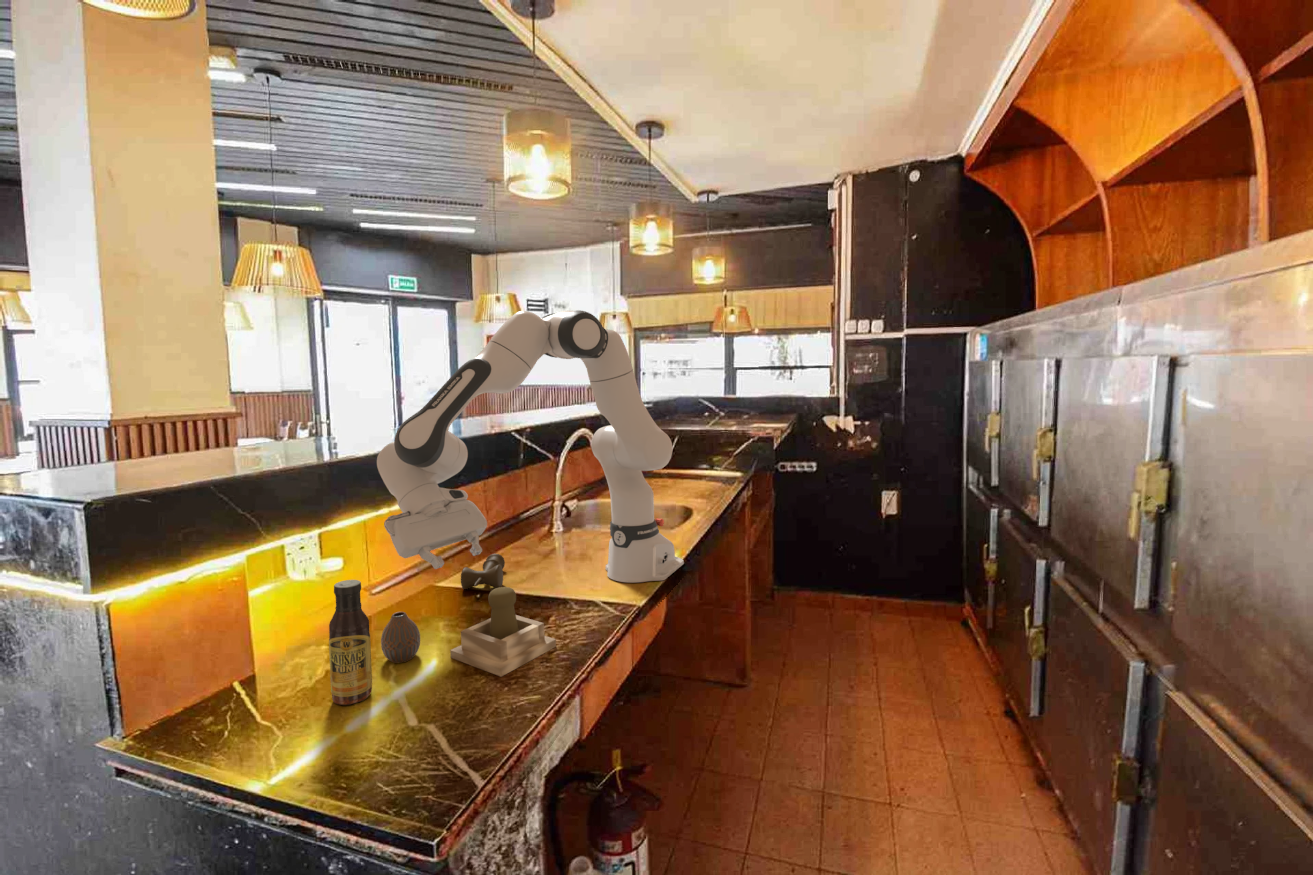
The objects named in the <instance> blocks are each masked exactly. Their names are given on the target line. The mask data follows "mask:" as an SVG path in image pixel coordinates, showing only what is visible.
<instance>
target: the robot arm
mask: <svg viewBox="0 0 1313 875" xmlns="http://www.w3.org/2000/svg"><path fill="white" fill-rule="evenodd" d="M627 350H628V349H627V348H626V346H625V343H624V341H623V339H622V337H621V335H620V333H618V332H617V331H615V330H613V329H606V328H605V327H604V326H603V325H602V323H601V321H600V320H599V319H598V318H597V317H596V316H595V315H594V314H592V313H590V312H589V311H588V312H587V311H585V310H579V309H578V310H561V311H558V312H556V313H550V314H547V315H544V316H542V317H540V316H539V315H537V314H536V313H533V312H531V311H527V310H521V311H520V310H519V311H517V312H515V313H513V315H512V316H510V318H508V319H507V320H506V321H505V322H504V323H503V324H502V325H501V327H499V329H498V330H496V332H495V333H494V334H493V336H492V337H491V338H490V340H489V341H488V342H487V343H486V345H485V347H483V348H482V350H481V351H480V352H479V353H478V354H477V355H476V356H474V358H472V359H470V360H468V361H466V362H465V363H464V364H463V365H461V366H460V367H459V368H458V369H457V370H456V371H455V372H454V373H453V374H452V375H451V376H450V377H449V379H448V380H447V381H446V382H444V384H443V385H442V386H441V388H440V389H439V390H438V391H437V392H436V393H435V394H434V395H433V396H432V397H431V398H430V400H429V401H428V402H427V403H425V405H424V406H423V407H422V408H421V409H420V410H418V411H417V412H416V413H414V414H413V415H411V416H409V417H408V418H407V419H405V421H403V422H402V423H401V424H400V425H399V427H398V428H397V431H396V433H395V436H394V441H392V442H389V443H388V444H387V445H385V446H384V447H382V448H381V450H380V452H379V453H378V455H377V458H376V467H377V470H378V474H379V475H380V477H381V479H382V481H383V484H384V485H385V487H386V489H387V490H388V491H389V493H390V495H392V496H394V498H395V499H396V502H397V505H398V508H399V509H400V511H401V513H399V514H392V515H389V516H388V517H387V519H385V521H384V525H383V527H384V529H385V530H386V533H388V534H389V535H390V539H391V542H392V544H393V547H394V548H395V550H396V552H397V554H398V556H400V557H401V558H404V559H408V558H411V557H415V556H417V555H418V556H420V558H421V559H422V560H424V561H426V562H428V563H429V564H431V566H432V568H433V569H434V570H437V569H440V568H443V566H444V564H445V560H444V559H443V558H442V556H441V555H439V556H437V555H435V554H434V553H433V552H431V551H434V550H436V549H441V548H443V547H447V546H450V545H453V544H457V543H459V542H463V541H465V540H467V541H468V543H471V548H469V552H470V553H471V555H472V556H473V557H475V556H479V555H481V553H483V548H482V547H481V545H480V537H479V536H481V535H482V534H483V533H484V532H485V530H486V529H487V527H488V520H487V518H486V517H485V516H484V514H483V513H482V512H481V510H480V509H479V507H478V506H477V505H476V504H475V503H474V502H473V501H471V500H468V498H469V495H468V493H467V492H466V491H465V490H464V489H453V488H445V487H440V486H439V484H441V483H443V482H445V481H448V480H449V479H451V478H453V477H454V476H456V475H458V474H459V473H460V472H461V471H463V470H464V468H465V466H466V465H467V462H468V459H469V458H468V457H469V450H468V447H467V445H466V443H465V442H464V441H463V440H462V439H461V438H459V437H458V436H456V435H455V433H452V432H451V431H449V429H450V427H451V425H452V423H454V421H455V420H456V419H457V418H458V417H459V415H461V413H462V412H463V411H464V409H466V408H467V407H468V406H469V404H470V403H471V401H473V399H475V398H476V397H478V396H479V395H483V394H487V393H488V394H489V393H491V394H500V395H501V394H508V393H512V392H514V391H515V390H516V389H517V388H518V387H520V385H521V384H522V383H523V382H524V381H525V380H526V379H527V377H528V376H529V374H530V373H531V371H532V370H533V368H534V367H535V365H536V364H537V362H538V361H539V360H540V358H541V357H543V356H548V357H551V358H558V359H563V360H565V359H566V360H571V359H573V360H574V359H580V360H581V361H582V362H583V364H584V366H585V368H586V371H587V375H588V380H589V383H590V387H591V390H592V394H593V398H594V402H595V405H596V408H597V410H598V412H599V413H600V415H602V416H603V417H604V418H605V419H606V420H607V421H608V423H609V424H610V425H604V426H602V427H600V428H598V429H597V430H596V431H595V432H594V433H593V435H592V438H591V442H590V444H591V445H590V448H591V452H592V454H593V456H594V457H595V458H596V460H598V463H599V464H600V465H601V468H602V470H603V473H604V476H605V479H606V482H607V485H608V486H607V487H608V490H609V495H610V510H611V511H610V514H611V521H610V522H609V523H610V524H609V532H610V537H611V538H610V539H609V543H608V559H607V564H605V571H607V572H606V573H607V574H606V575H607V577H608V578H609V579H611V580H613V581H617V582H621V583H644V582H652V581H658V582H659V581H664V580H666V579H668V577H670V576H671V575H672V574H673V573H675V572H676V571H677V570H679V568H681V567H682V566H683V565H684V564H685V562H684V559H682V558H680V557H677V556H676V553H675V552H676V551H675V546H674V544H673V542H672V541H671V540H669V539H668V538H667V537H666V536H664V535H663V534H662V533H660V529H659V527H663V526H664V524H665V520H664V518H657V517H656V518H655V503H654V502H655V501H654V500H655V499H654V496H655V495H654V491H653V488H652V486H650V484H649V483H648V482H647V480H646V479H645V476H644V474H643V472H648V471H657V470H661V469H663V468H664V467H666V466H667V465H668V464H669V462H670V461H671V459H672V456H673V443H672V440H671V438H670V436H669V435H668V434H667V433H666V432H664V430H662V429H661V428H660V427H659V426H658V424H657V423H656V422H655V421H654V419H653V418H652V416H651V414H650V412H649V410H648V409H647V407H646V405H645V404H644V401H643V399H642V397H641V393H640V390H639V386H638V384H637V379H636V375H635V372H634V368H633V364H632V362H631V358H630V355H629V353H628V351H627Z"/></svg>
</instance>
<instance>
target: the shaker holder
mask: <svg viewBox="0 0 1313 875" xmlns="http://www.w3.org/2000/svg"><path fill="white" fill-rule="evenodd" d="M515 615H516V620H517V625H518V630H519V631H518V632H516V633H514V634H512V635H510V636H508V637H506V638H503V639H501V640H500V639H497V638H494V637H491V636H490V625H491V617H490V618H488V619H486V620H484V621H483V620H482V621H481V622H478V623H477V624H474V625H471V626H469V627H468V628H465V629H463V630H461V631H460V639H461V644H460V645H458V646H456V647H454V648H452V649H450V650H449V651H450V658H451V659H453V660H456V661H459V662H461V663H464V664H467V665H469V666H471V667H474V668H477V669H479V670H481V671H485V672H488V673H491V674H493V675H496V676H498V677H501V678H502V677H504V676H505V675H507V674H508V673H511V672H513V671H514V670H516V669H518V668H519V667H522V666H523V665H525V664H527V663H529V662H530V661H531V662H532V661H533V660H534V659H536V658H538V657H540V656H542V655H543V654H545V653H547V652H549V651H551V650H552V649H554V648H556V647H557V639H556V638H554V637H550V636H548V635H547V636H546V635H545V623H544V622H541V621H538V620H534V619H532V618H531V619H530V618H527V617H524V616H522V615H521V616H520V615H517V614H515Z"/></svg>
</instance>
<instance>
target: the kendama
mask: <svg viewBox="0 0 1313 875" xmlns="http://www.w3.org/2000/svg"><path fill="white" fill-rule="evenodd" d="M505 563H506V562H505V558H504V557H503V555H501V554H500V553H491V554H490V555H487V557H486V559H485V560H484V561H483V564H482V570H475V569H473V568H470V567H468V566H466V567H463V569H462V570H461V573H460V585H461V589H463V590H464V589H467V590H468V588H469V589H471V588H474V587H475V588H476V587H477V586H478V585H479V586H481V585H488V586H491V587H493V588H494V589H496V588H499V587H503V583H504V571H503V570H504V567H505Z"/></svg>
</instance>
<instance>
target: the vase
mask: <svg viewBox="0 0 1313 875" xmlns="http://www.w3.org/2000/svg"><path fill="white" fill-rule="evenodd" d="M420 632H421V631H420V630H419V628H418V626H417V624H416V623H415V621H413V620H412V619H411V618H410V617H409V616H408V614H407V613H406V612H404V611H397V612H394V613H393V614H392V615H391V618H390V619H389V621H388V623H387V624H386V626H385V627H384V629H383V631H382V634H381V639H380V646H381V650H382V653H383V655H384V657H385V658H386V659H387V660H388V661H390V662H392V663H396V664H400V663H405V662H408V661H411V660H412V659H413V658H414V657H415V656H416V655H417V653H418V652H419V649H420V646H421V633H420Z"/></svg>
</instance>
